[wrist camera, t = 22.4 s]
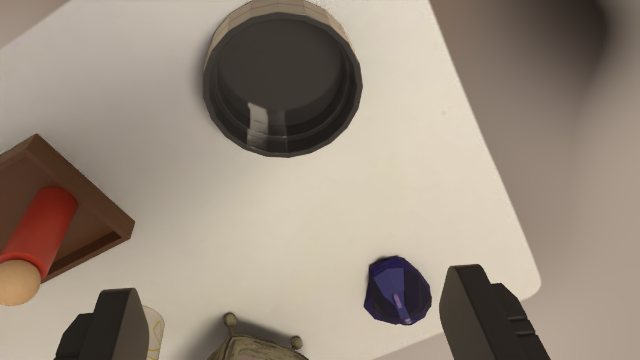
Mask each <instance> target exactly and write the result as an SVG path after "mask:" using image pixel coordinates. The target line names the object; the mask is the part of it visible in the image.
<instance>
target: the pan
mask: <svg viewBox="0 0 640 360" xmlns="http://www.w3.org/2000/svg"><path fill="white" fill-rule="evenodd" d="M362 89H363V84H362V76H361V69H360V63H359V61H358V59H357V56H356V54H355V51H354V49H353V47H352V44H351V42H350V40H349V39H348V37H347V35H346V33H345V31H344V29H343V27H342V26H341V24H340V23H339V22H338V21H337V20H335V19H334V18H333V17H332V16H331V15H330V14H329V13H328V12H327V11H326V10H325V9H323V8H321V7H319V6H317V5H315V4H312V3H310V2H308V1H306V0H255V1H252V2H249V3H248V4H246V5H244V6H243V7H241V8H239V9H238V10H236V11H234V12H233V13H231V14H230V15H229V16H228V17H227V18H226V20H225V21H224V22H223V23H222V25H221V26H220V27H219V28H218V29H217V31H216V32H215V34H214V36H213V39H212V42H211V45H210V47H209V50H208V53H207V57H206V62H205V67H204V71H203V98H204V101H205V104H206V107H207V109H208V112H209V115H210V117H211V119H212V121H213V122H214V123H215V124H216V126H217V127H218V128H219V129H220V131H221V132H222V133H223V134H224V136H226V137H227V138H228V139H230V140H231V141H233V142H234V143H235V144H237V145H238V146H240V147H241V148H243V149H245V150H247V151H250V152H254V153H257V154H260V155H263V156H266V157H283V158H290V157H295V156H300V155H305V154H310V153H312V152H314V151H316V150H318V149H320V148H322V147H324V146H326V145H328V144H330V143H331V142H333V141H334V140H335V139H336V138H337V137H338V136H339V135H340V134H341V133H342V132H343V131H344V130H346V129H347V127H348V126H349V124H350V122H351V121H352V119H353V117H354V115H355V114H356V112H357V110H358V108H359V103H360V98H361V94H362Z"/></svg>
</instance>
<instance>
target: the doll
mask: <svg viewBox="0 0 640 360" xmlns="http://www.w3.org/2000/svg"><path fill="white" fill-rule="evenodd" d="M76 210H77V201H76V199H75V198H74V196H73V195H72V194H70V193H69V192H67V191H65V190H63V189H60V188H56V187H47V188H43V189H41V190H39V191H38V192H37V193H36V194H35V196H34V198H33V199H32V201H31V203H30V204H29V206H28V208H27V210H26V211H25V213H24V215H23V216H22V218H21V220H20V221H19V223H18V225H17V227H16V228H15V230H14V232H13V233H12V235H11V237H10V238H9V240H8V242H7V244H6V245H5V247H4V249H3V250H2V252H1V254H0V304H1V305H5V306H16V305H20V304H23V303H25V302H27V301H29V300H30V299H32V298H33V297H34V296H35V294H36V293H37V291H38V290H39V287H40V283H41V281H42V280H43V279H44V278H45V277H46V275H47V273H48V271H49V269H50V267H51V265H52V262H53V260H54V258H55V256H56V254H57V252H58V249H59V247H60V245H61V243H62V241H63V238H64V236H65V234H66V232H67V230H68V228H69V225H70V223H71V221H72V219H73V217H74V215H75V212H76Z"/></svg>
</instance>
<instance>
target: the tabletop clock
mask: <svg viewBox="0 0 640 360" xmlns="http://www.w3.org/2000/svg"><path fill="white" fill-rule="evenodd" d="M235 323H236V317H235V316H234V315H233V314H228V315H226V316H225V317H224V324H225V325H226V326H227V327H229V337H228V338H227V339H226V340H225V341H224V343H223V344H222V345H221V346H220V347H219V348H218V349H217V350H216V351H215V352H214V353H213V354H212V355H211V356H210V357H209V358H208V359H207V360H309V359H307V358H306V357H305V356H304V355H302V354H300V353H298V352H296V351H295V349H296V350H297V349H300V348H301V347H302V340H301V339H300V338H299V337H296V338H293V340H292V342H291V345H292V348H291V349H289V348H287V347H285V346H282V345H280V344H277V343H275V342H272V341H269V340H265V339H261V338H257V337H253V336H249V335H243V334H236V335H235V334H234V329H233V326H234V325H235Z"/></svg>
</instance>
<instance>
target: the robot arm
mask: <svg viewBox="0 0 640 360" xmlns="http://www.w3.org/2000/svg"><path fill="white" fill-rule="evenodd" d="M439 313H440V320H441V324H442V327H443V330H444V333H445V335H446V338H447V341H448V344H449V346H450V349H451V352H452V355H453V357H454V360H551V359H550V357H549V356H548V354H547V352H546V350H545V348H544V346H543V344H542V343H541V341H540V339H539V337H538V335H536V334H535V330H534V328H533V326H532V324H531V322H530V320H528V319H527V315H526V313H525V311H524V310H523V308H522V306H521V304H520V302H519V300H518V298H517V297H516V296H515V295H513V294H512V293H511V292H510V291H509V290H508V289H507V288H506V287H505V286H504V285H503V284H502V283H495V284H491V283H490V281H489V279H488V277H487V275H486V273H485V271H484V269H483V268H482V267H481V266H480V265H479V264H471V265H457V266H450V267H449V268H448V271H447V275H446V279H445V283H444V287H443V291H442V295H441V299H440V303H439ZM148 349H149V326H148V322H147V319H146V316H145V313H144V310H143V307H142V304H141V301H140V298H139V295H138V292H137V290H136V289H135V288H123V289H109V290H103V291H101V293H100V294H99V297H98V300H97V303H96V306H95V309H94V312H93V313H85V314H79V315H78V316H77V317H76V319H75V320H74V321H73V322H72V323H71V325H70V326H69V327H68V328H67V329H66V331H65V332H64V333H63V336H62V338H61V341H60V344H59V346H58V349H57V352H56V358H54V360H146V359H147V354H148Z"/></svg>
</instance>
